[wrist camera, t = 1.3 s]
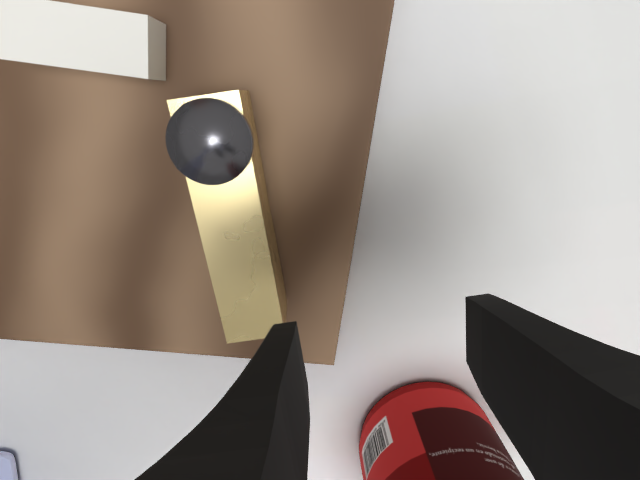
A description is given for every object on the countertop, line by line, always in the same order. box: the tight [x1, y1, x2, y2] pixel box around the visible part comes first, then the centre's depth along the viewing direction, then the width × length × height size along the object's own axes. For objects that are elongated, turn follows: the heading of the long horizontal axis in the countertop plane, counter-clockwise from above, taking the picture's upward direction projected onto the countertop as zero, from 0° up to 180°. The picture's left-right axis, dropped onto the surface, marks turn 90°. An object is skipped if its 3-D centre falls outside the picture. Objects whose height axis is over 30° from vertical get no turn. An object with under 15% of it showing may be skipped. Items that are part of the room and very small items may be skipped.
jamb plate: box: [0, 0, 394, 365], centre depth 18 cm, size 18×19×1 cm
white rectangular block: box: [0, 0, 166, 81], centre depth 15 cm, size 5×2×2 cm, turn 83°
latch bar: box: [165, 90, 287, 344], centre depth 16 cm, size 10×3×4 cm, turn 8°
